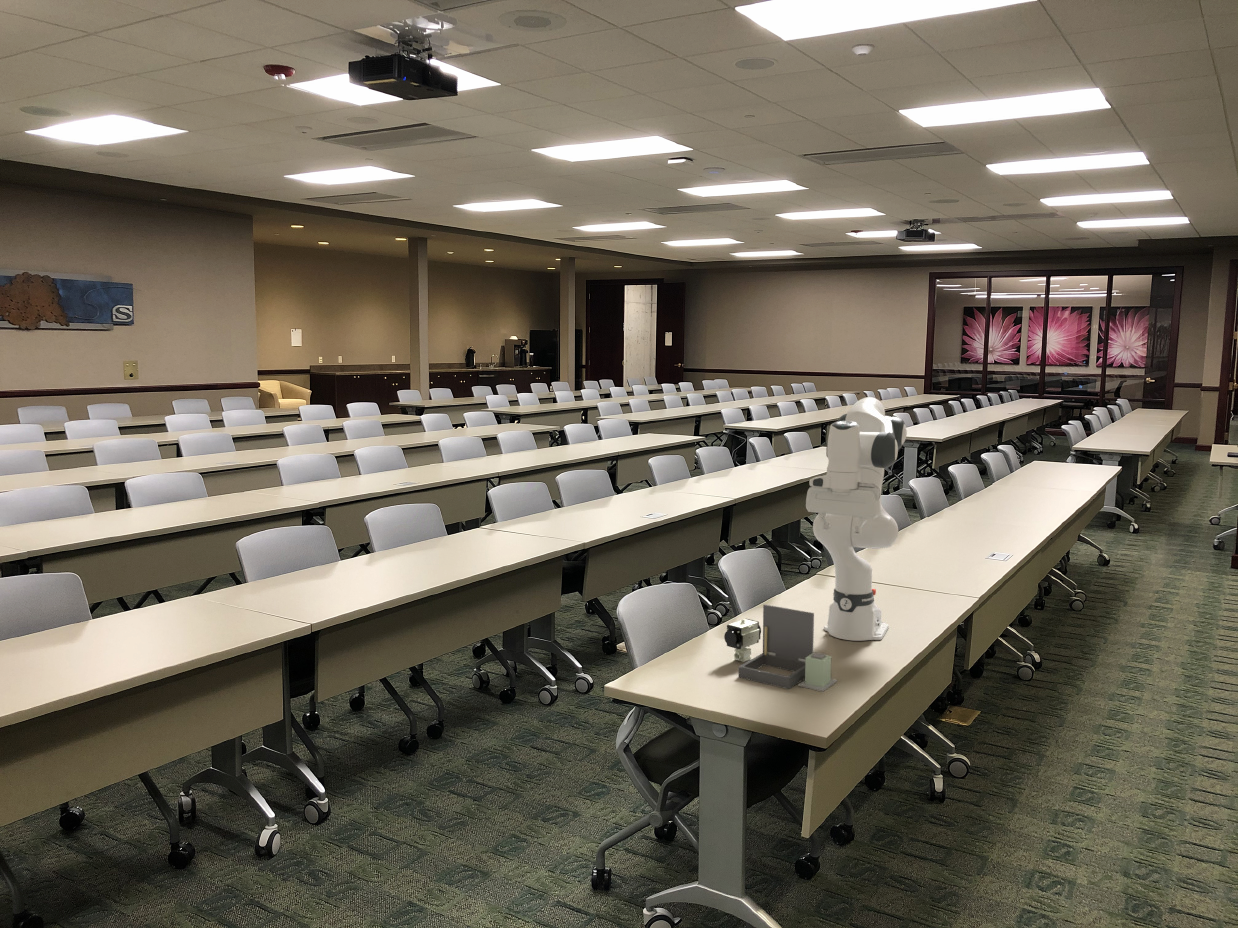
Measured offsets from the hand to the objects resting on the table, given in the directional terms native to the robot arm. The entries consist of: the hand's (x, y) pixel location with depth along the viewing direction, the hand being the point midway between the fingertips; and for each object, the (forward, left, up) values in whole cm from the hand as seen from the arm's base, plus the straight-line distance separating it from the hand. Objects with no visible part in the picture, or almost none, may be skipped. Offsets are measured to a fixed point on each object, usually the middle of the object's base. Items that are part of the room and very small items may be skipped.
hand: (841, 531), depth 246 cm
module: (+14, 0, -39) cm, 41 cm away
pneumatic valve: (+9, -25, -39) cm, 48 cm away
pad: (+14, 0, -39) cm, 41 cm away
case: (+15, -12, -39) cm, 44 cm away
